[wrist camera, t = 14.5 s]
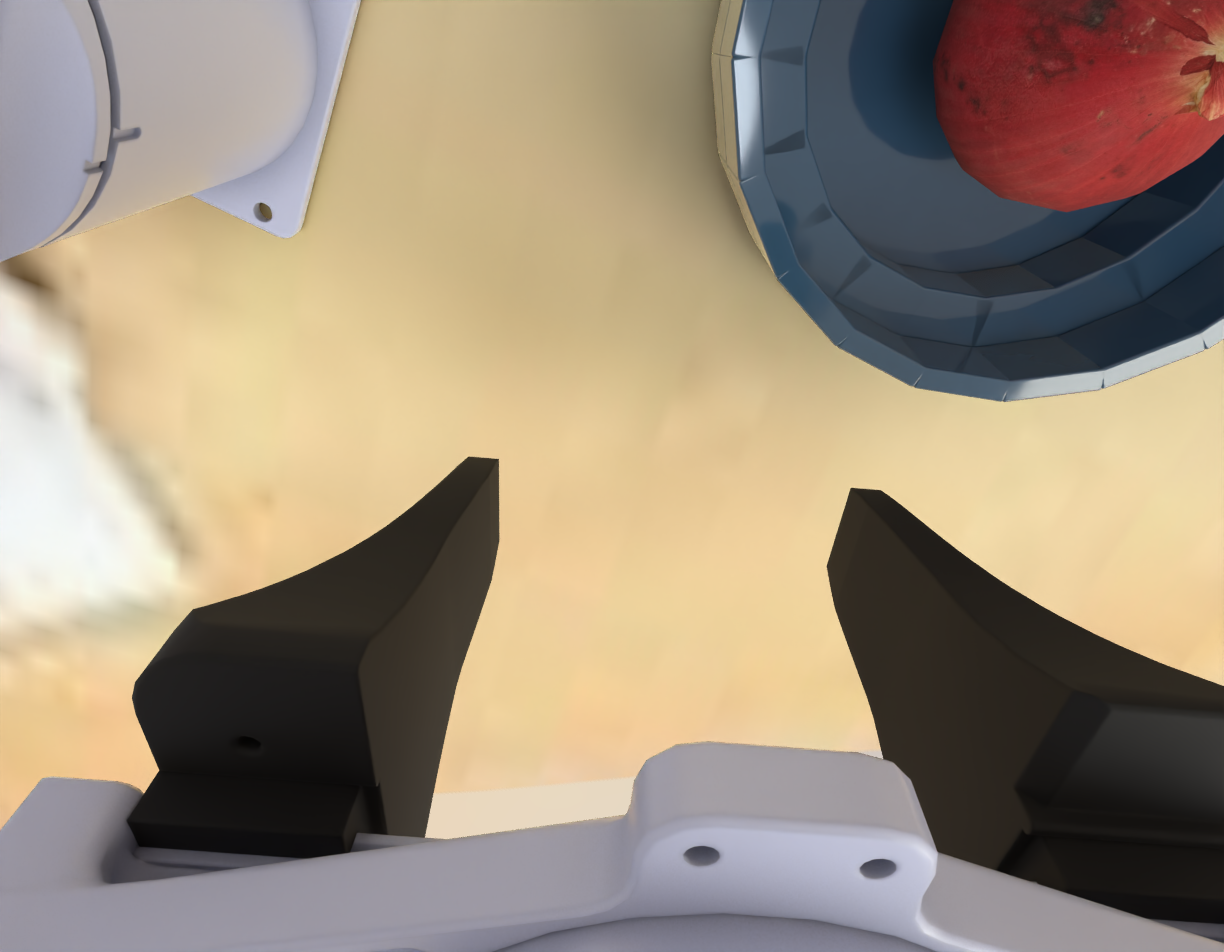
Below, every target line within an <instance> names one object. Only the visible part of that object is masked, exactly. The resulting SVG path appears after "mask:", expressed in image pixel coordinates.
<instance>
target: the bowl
mask: <svg viewBox="0 0 1224 952" xmlns="http://www.w3.org/2000/svg"><path fill="white" fill-rule="evenodd" d="M952 3H953V0H721V3H720V8H719V13H718V18H717V23H716V28H715V33H714V38H713V43H712V48H711V51H712V53H713V54H712V55H711V65H712V79H713V92H714V106H715V119H716V133H717V146H718V151H719V158H720V160H721V163H722V165H723V168H724V170H725V173H726V175H727V178H728V180H729V183H730V185H731V188H732V190H733V193H734V195H735V198H736V200H737V203H738V205H739V208H740V210H741V213H742V216H743V218H744V221H745V223H746V226H747V228H748V231H749V233H750V234H751V236H752V238H753V240H754V241H755V243H756V245H757V246H758V248H759V250H760V251H761V253H762V255H763V257H764V258H765V260H766V262H767V263H768V265H769V267H770V269H771V270H772V272H773V274H774V275H775V277H776V279H777V280H778V282H779V283H780V284H781V285H782V286H783V287H784V288H785V289H786V291H787V292H788V293H789V294H790V295H791V296H792V297H793V299H794V300H795V301H796V302H797V303H798V304H799V305H800V307H801V308H802V309H803V310H804V311H805V312H806V313H807V314H808V316H809V317H810V318H811V319H812V320H813V321H814V322H815V324H816V325H817V326H818V327H819V328H820V329H821V330H822V331H823V333H824V334H825V335H826V336H827V337H828V338H829V339H830V341H831V342H832V343H833V344H834V345H835V346H837V347H838V348H840V349H841V350H843V351H845V352H847V353H849V354H851V355H853V356H855V357H856V358H858V359H860V360H862V361H864V362H866V363H868V364H870V365H872V366H873V367H875V368H877V369H879V370H881V371H883V372H885V373H887V374H888V375H890V376H892V377H894V378H896V379H898V380H900V381H902V382H903V383H905V384H907V385H909V386H913V387H915V388H919V389H925V390H931V391H937V392H944V393H950V394H956V395H963V396H969V397H975V398H981V399H988V400H994V401H1000V402H1001V401H1004V402H1008V401H1016V400H1024V399H1032V398H1040V397H1048V396H1056V395H1064V394H1072V393H1080V392H1088V391H1096V390H1101V388H1102V389H1103V388H1107V387H1109V386H1112V385H1115V384H1117V383H1120V382H1123V381H1125V380H1128V379H1131V378H1133V377H1136V376H1139V375H1141V374H1144V373H1147V372H1149V371H1152V370H1154V369H1157V368H1160V367H1162V366H1165V365H1168V364H1170V363H1173V362H1176V361H1178V360H1181V359H1184V358H1186V357H1189V356H1191V355H1194V354H1197V353H1199V352H1202V351H1204V350H1205V349H1209V348H1211V347H1212V346H1214V345H1215V344H1217V343H1218V342H1220V341H1222V340H1223V339H1224V134H1223V135H1222V136H1221V137H1220V138H1219V139H1218V140H1217V141H1216V142H1215V143H1214V144H1213V145H1212V146H1211V147H1210V148H1209V149H1208V150H1207V151H1206V152H1205V153H1204V154H1203V155H1202V156H1200V157H1199V158H1198V159H1196V160H1195V161H1193V162H1192V163H1190V164H1189V165H1187V166H1185V167H1183V168H1182V169H1180V170H1178V171H1177V172H1175V173H1173V174H1172V175H1170V176H1168V177H1167V178H1165V179H1163V180H1162V181H1160V182H1158V183H1157V184H1155V185H1153V186H1152V187H1150V188H1148V189H1147V190H1145V191H1143V192H1142V193H1139V194H1136V195H1133V196H1130V197H1127V198H1125V199H1121V200H1116V201H1112V202H1108V203H1104V204H1099V205H1095V206H1091V207H1087V208H1083V209H1078V210H1074V211H1070V212H1063V211H1058V210H1054V209H1049V208H1044V207H1040V206H1035V205H1031V204H1026V203H1022V202H1018V201H1013V200H1009V199H1004V198H1000V197H998V196H997V195H996V194H994V193H993V192H992V191H990V190H989V189H988V188H986V187H985V186H984V185H982V184H981V183H980V182H978V181H977V180H976V179H974V178H973V177H972V176H970V175H969V174H968V173H966V172H965V171H964V170H962V168H961V167H960V165H959V163H958V162H957V160H956V159H955V157H954V154H953V152H952V150H951V148H950V146H949V143H948V141H947V139H946V137H945V134H944V132H943V130H942V128H941V126H940V123H939V121H938V119H937V117H936V103H935V88H934V73H933V59H934V56H935V54H936V51H937V48H938V45H939V42H940V39H941V36H942V33H943V30H944V27H945V24H946V21H947V18H948V15H949V12H950V9H951V6H952Z"/></svg>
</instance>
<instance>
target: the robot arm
mask: <svg viewBox="0 0 1224 952" xmlns="http://www.w3.org/2000/svg"><path fill="white" fill-rule="evenodd" d="M360 3H361V0H0V262H2V261H4V260H7V259H9V258H12V257H14V256H17V255H20V254H22V253H25V252H28V251H31V250H33V249H36V248H40V247H44V246H46V245H49V244H52V243H55V242H58V241H61V240H63V239H66V238H69V237H72V236H75V235H78V234H80V233H83V232H86V231H89V230H92V229H95V228H97V227H100V226H103V225H106V224H109V223H112V222H114V221H117V220H120V219H123V218H126V217H129V216H131V215H134V214H137V213H140V212H143V211H146V210H148V209H151V208H154V207H157V206H160V205H163V204H165V203H168V202H171V201H174V200H177V199H180V198H182V197H185V196H188V195H191V196H193V197H195V198H197V199H199V200H201V201H203V202H206V203H208V204H210V205H212V206H214V207H216V208H218V209H220V210H222V211H225V212H227V213H229V214H231V215H233V216H235V217H237V218H239V219H241V220H244V221H246V222H248V223H250V224H252V225H254V226H256V227H258V228H260V229H263V230H265V231H267V232H269V233H271V234H273V235H275V236H278V237H281V238H290V237H292V236H294V235H295V234H297V233H298V232H300V230H301V228H302V225H303V222H304V218H305V214H306V210H307V206H308V202H309V199H310V195H311V191H312V187H313V183H314V179H315V175H316V172H317V168H318V164H319V160H320V156H321V152H322V149H323V145H324V141H325V137H326V133H327V129H328V126H329V122H330V118H331V114H332V110H333V106H334V102H335V99H336V95H337V91H338V87H339V83H340V79H341V76H342V72H343V68H344V64H345V60H346V56H347V53H348V49H349V45H350V41H351V37H352V33H353V29H354V26H355V22H356V18H357V14H358V10H359V6H360ZM260 203H264V204H266V205H267V206H268V207H269V208H270V209H271V211H272V218H271V219H268V218H266V217H265V216H263V215H262V213H261V211H260ZM498 544H499V459H491V458H479V457H468V458H467V459H465V460H464V461H463V462H462V463H461V464H460V465H458V466H457V467H456V468H455V469H454V470H453V471H452V472H451V473H450V474H449V475H448V476H447V477H445V478H444V479H443V480H442V481H441V482H440V483H439V484H438V485H437V486H436V487H434V488H433V489H432V490H431V491H430V492H429V493H427V494H426V495H425V496H424V497H423V498H422V499H420V500H419V501H418V502H417V503H416V504H415V505H413V506H412V507H411V508H410V509H408V510H407V511H406V512H405V513H403V514H402V515H401V516H399V517H398V518H397V519H395V520H394V521H393V522H391V523H390V524H389V525H387V526H386V527H384V528H383V529H381V530H380V531H378V532H377V533H375V534H374V535H372V536H371V537H369V538H367V539H366V540H364V541H362V542H361V543H359V544H357V545H356V546H354V547H352V548H351V549H349V550H347V551H345V552H343V553H341V554H339V555H337V556H335V557H333V558H331V559H329V560H327V561H325V562H323V563H321V564H319V565H317V566H315V567H313V568H311V569H309V570H307V571H305V572H302V573H300V574H298V575H295V576H293V577H290V578H288V579H286V580H283V581H281V582H278V583H275V584H273V585H270V586H267V587H265V588H262V589H259V590H256V591H253V592H250V593H247V594H244V595H241V596H238V597H234V598H231V599H228V600H224V601H221V602H217V603H214V604H211V605H207V606H204V607H200V608H196V609H193V610H192V611H191V612H190V613H189V614H188V616H187V617H186V618H185V619H184V620H183V621H182V622H181V623H180V625H179V626H178V627H177V628H176V629H175V630H174V632H173V633H172V634H171V636H170V637H169V638H168V640H167V641H166V642H165V644H164V645H163V646H162V648H161V649H160V650H159V652H158V653H157V654H156V656H155V657H154V658H153V660H152V661H151V662H150V663H149V665H148V666H147V667H146V669H145V670H144V671H143V673H142V674H141V675H140V677H139V678H138V679H137V681H136V682H135V686H134V690H133V695H132V700H133V704H134V709H135V713H136V716H137V718H138V721H139V723H140V725H141V728H142V730H143V733H144V735H145V737H146V740H147V742H148V744H149V747H150V749H151V752H152V754H153V756H154V759H155V761H156V763H157V766H158V768H159V772H158V773H157V775H156V776H155V778H154V779H153V781H152V783H151V784H150V786H149V787H148V789H147V790H146V792H145V793H143V792H142V791H141V790H140V789H138V788H136V787H134V786H132V785H130V784H127V783H123V782H118V781H107V780H93V779H79V778H65V777H46V778H43V779H41V780H40V781H39V783H38V784H37V785H36V786H35V788H34V789H33V790H32V791H31V793H30V794H29V795H28V796H27V798H26V799H25V800H24V801H23V803H22V804H21V805H20V806H19V808H18V809H17V810H16V811H15V813H14V814H13V815H12V816H11V818H10V819H9V820H8V821H7V823H6V824H5V825H4V826H3V828H2V829H1V830H0V952H1224V686H1222V685H1219V684H1216V683H1214V682H1211V681H1208V680H1205V679H1203V678H1200V677H1197V676H1194V675H1192V674H1189V673H1186V672H1183V671H1180V670H1178V669H1175V668H1172V667H1169V666H1167V665H1164V664H1162V663H1159V662H1157V661H1154V660H1152V659H1150V658H1147V657H1145V656H1143V655H1140V654H1138V653H1136V652H1133V651H1131V650H1129V649H1126V648H1124V647H1121V646H1119V645H1117V644H1115V643H1113V642H1111V641H1108V640H1106V639H1104V638H1102V637H1100V636H1098V635H1096V634H1094V633H1092V632H1090V631H1088V630H1086V629H1084V628H1082V627H1080V626H1078V625H1076V624H1074V623H1072V622H1070V621H1068V620H1066V619H1064V618H1062V617H1060V616H1058V615H1057V614H1055V613H1053V612H1051V611H1049V610H1048V609H1046V608H1044V607H1042V606H1040V605H1039V604H1037V603H1036V602H1034V601H1032V600H1031V599H1029V598H1027V597H1026V596H1024V595H1022V594H1021V593H1019V592H1017V591H1016V590H1014V589H1012V588H1011V587H1009V586H1008V585H1006V584H1005V583H1003V582H1002V581H1000V580H999V579H997V578H996V577H994V576H993V575H991V574H990V573H988V572H987V571H986V570H984V569H983V568H981V567H980V566H979V565H977V564H976V563H974V562H973V561H971V560H970V559H969V558H967V557H966V556H965V555H963V554H962V553H961V552H959V551H958V550H957V549H955V548H954V547H953V546H952V545H950V544H949V543H948V542H946V541H945V540H944V539H943V538H941V537H940V536H939V535H938V534H936V533H935V532H934V531H933V530H931V529H930V528H929V527H928V526H926V525H925V524H924V523H923V522H921V521H920V520H919V519H918V518H916V517H915V516H914V515H913V514H912V513H910V512H909V511H908V510H907V509H905V508H904V507H903V506H902V505H900V504H899V503H898V502H896V501H895V500H894V499H892V498H891V497H890V496H888V495H887V494H885V493H884V492H882V491H881V490H871V489H858V488H851V489H850V492H849V496H848V499H847V502H846V505H845V509H844V512H843V515H842V518H841V522H840V525H839V528H838V531H837V534H836V538H835V541H834V544H833V547H832V551H831V554H830V557H829V560H828V564H827V570H828V576H829V582H830V587H831V592H832V597H833V601H834V606H835V610H836V613H837V616H838V619H839V621H840V624H841V627H842V630H843V633H844V635H845V638H846V641H847V644H848V647H849V649H850V652H851V655H852V657H853V660H854V663H855V666H856V668H857V671H858V674H859V677H860V679H861V682H862V685H863V688H864V690H865V693H866V696H867V699H868V702H869V705H870V708H871V711H872V715H873V718H874V722H875V726H876V730H877V734H878V738H879V743H880V747H881V751H882V755H883V759H880V758H877V757H873V756H869V755H865V754H862V753H858V752H844V751H831V750H818V749H804V748H791V747H778V746H765V745H751V744H738V743H725V742H711V741H707V742H696V743H685V744H676V745H674V746H672V747H670V748H668V749H666V750H665V751H663V752H661V753H659V754H657V755H655V756H653V757H651V758H649V759H648V760H646V762H645V763H644V765H643V767H642V768H641V770H640V772H639V773H638V775H637V777H636V778H635V780H634V784H633V791H632V797H631V804H630V806H629V809H628V812H627V813H626V814H625V815H619V816H612V817H605V818H597V819H591V820H583V821H577V822H569V823H562V824H554V825H547V826H540V827H533V828H525V829H518V830H511V831H504V832H496V833H490V834H482V835H475V836H467V837H461V838H453V839H434V838H425V834H426V828H427V823H428V818H429V813H430V808H431V803H432V798H433V793H434V788H435V783H436V777H437V773H438V768H439V763H440V758H441V754H442V749H443V744H444V739H445V735H446V730H447V725H448V721H449V716H450V712H451V708H452V703H453V699H454V694H455V690H456V686H457V682H458V679H459V675H460V672H461V668H462V665H463V662H464V660H465V657H466V654H467V651H468V648H469V645H470V642H471V639H472V636H473V633H474V630H475V628H476V625H477V622H478V619H479V616H480V613H481V610H482V607H483V604H484V601H485V598H486V595H487V592H488V589H489V586H490V583H491V580H492V575H493V570H494V565H495V560H496V555H497V550H498Z"/></svg>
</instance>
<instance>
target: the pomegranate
mask: <svg viewBox="0 0 1224 952" xmlns="http://www.w3.org/2000/svg"><path fill="white" fill-rule="evenodd" d="M933 73H934V88H935V103H936V117H937V119H938V121H939V123H940V126H941V128H942V130H943V132H944V134H945V137H946V139H947V141H948V143H949V146H950V148H951V150H952V152H953V154H954V157H955V159H956V160H957V162H958V163H959V165H960V167H961V168H962V170H964V171H965V172H966V173H968V174H969V175H970V176H972V177H973V178H974V179H976V180H977V181H978V182H980V183H981V184H982V185H984V186H985V187H986V188H988V189H989V190H990V191H992V192H993V193H994V194H996V195H997V196H998V197H1000V198H1004V199H1009V200H1013V201H1018V202H1022V203H1026V204H1031V205H1035V206H1040V207H1044V208H1049V209H1054V210H1058V211H1063V212H1070V211H1074V210H1078V209H1083V208H1087V207H1091V206H1095V205H1099V204H1104V203H1108V202H1112V201H1116V200H1121V199H1125V198H1127V197H1130V196H1133V195H1136V194H1139V193H1142V192H1143V191H1145V190H1147V189H1148V188H1150V187H1152V186H1153V185H1155V184H1157V183H1158V182H1160V181H1162V180H1163V179H1165V178H1167V177H1168V176H1170V175H1172V174H1173V173H1175V172H1177V171H1178V170H1180V169H1182V168H1183V167H1185V166H1187V165H1189V164H1190V163H1192V162H1193V161H1195V160H1196V159H1198V158H1199V157H1200V156H1202V155H1203V154H1204V153H1205V152H1206V151H1207V150H1208V149H1209V148H1210V147H1211V146H1212V145H1213V144H1214V143H1215V142H1216V141H1217V140H1218V139H1219V138H1220V137H1221V136H1222V135H1223V134H1224V0H953V3H952V6H951V9H950V12H949V15H948V18H947V21H946V24H945V27H944V30H943V33H942V36H941V39H940V42H939V45H938V48H937V51H936V54H935V56H934V59H933Z"/></svg>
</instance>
